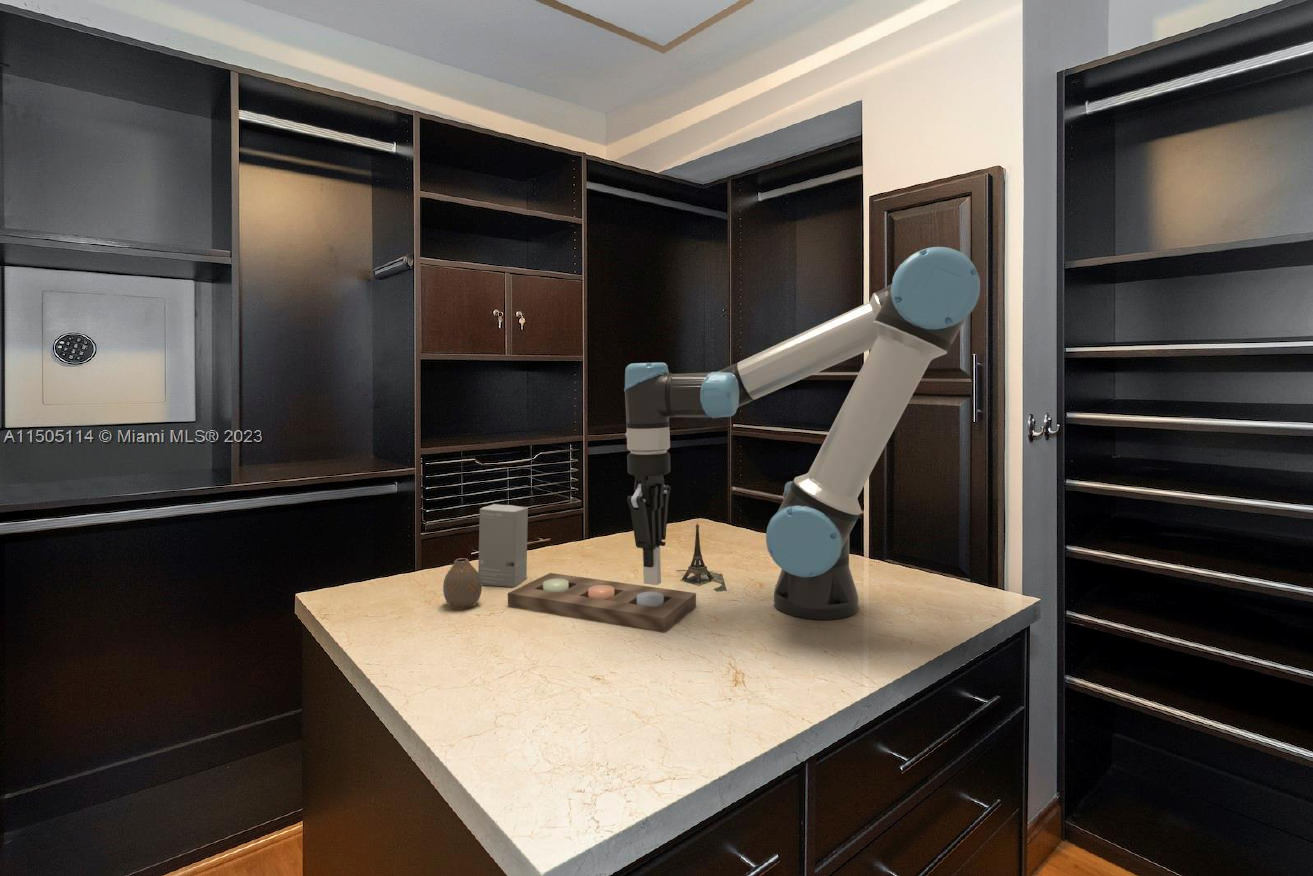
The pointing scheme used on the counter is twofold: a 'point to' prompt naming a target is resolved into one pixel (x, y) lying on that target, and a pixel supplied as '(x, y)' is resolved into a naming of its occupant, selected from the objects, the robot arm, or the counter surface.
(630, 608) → the button board
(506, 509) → the skincare box
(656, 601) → the button slate
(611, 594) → the button terracotta
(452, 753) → the counter surface
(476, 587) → the vase
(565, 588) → the button sage
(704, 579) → the eiffel tower figurine
